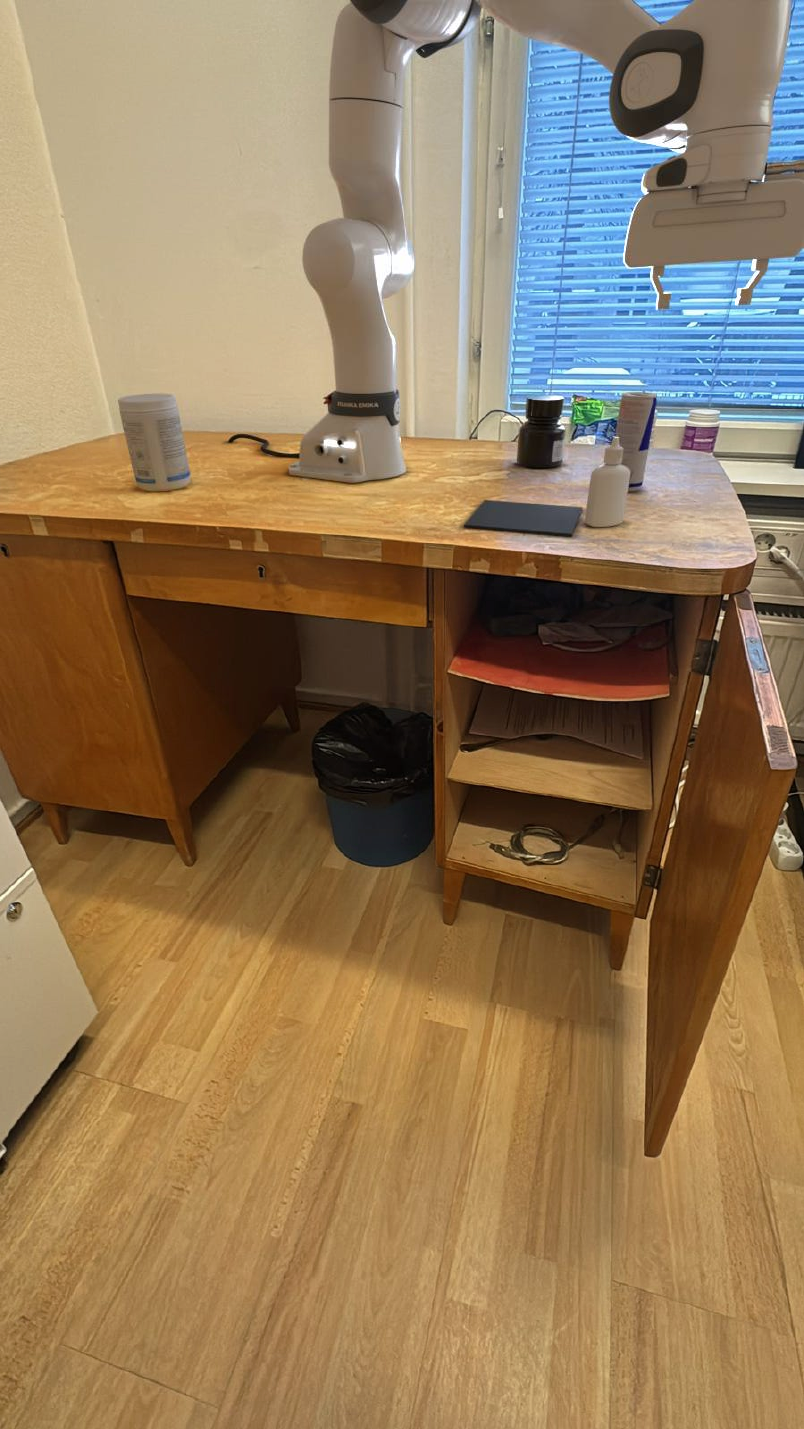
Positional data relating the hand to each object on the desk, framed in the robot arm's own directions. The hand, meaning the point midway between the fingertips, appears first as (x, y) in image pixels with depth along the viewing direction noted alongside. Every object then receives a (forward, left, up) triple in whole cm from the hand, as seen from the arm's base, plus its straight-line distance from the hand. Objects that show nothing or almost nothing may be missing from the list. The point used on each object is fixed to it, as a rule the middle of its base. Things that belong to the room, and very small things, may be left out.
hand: (702, 307), depth 85 cm
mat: (-20, -2, -27) cm, 34 cm away
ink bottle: (-23, +35, -28) cm, 50 cm away
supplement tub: (-85, 0, -28) cm, 90 cm away
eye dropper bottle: (-8, -2, -28) cm, 29 cm away
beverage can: (-6, +20, -28) cm, 34 cm away
